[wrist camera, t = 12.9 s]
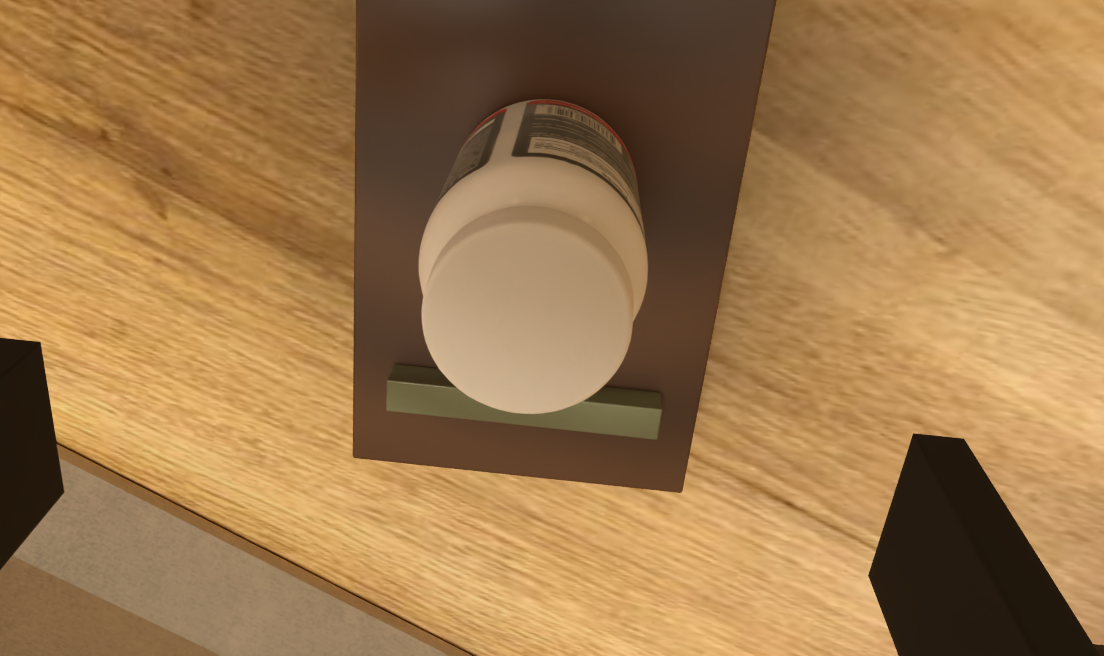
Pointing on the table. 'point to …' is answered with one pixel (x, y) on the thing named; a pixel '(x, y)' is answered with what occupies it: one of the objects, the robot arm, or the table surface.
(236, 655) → the barrier
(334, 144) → the table surface
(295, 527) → the table surface
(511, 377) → the pill bottle
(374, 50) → the walnut shelf
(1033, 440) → the table surface
